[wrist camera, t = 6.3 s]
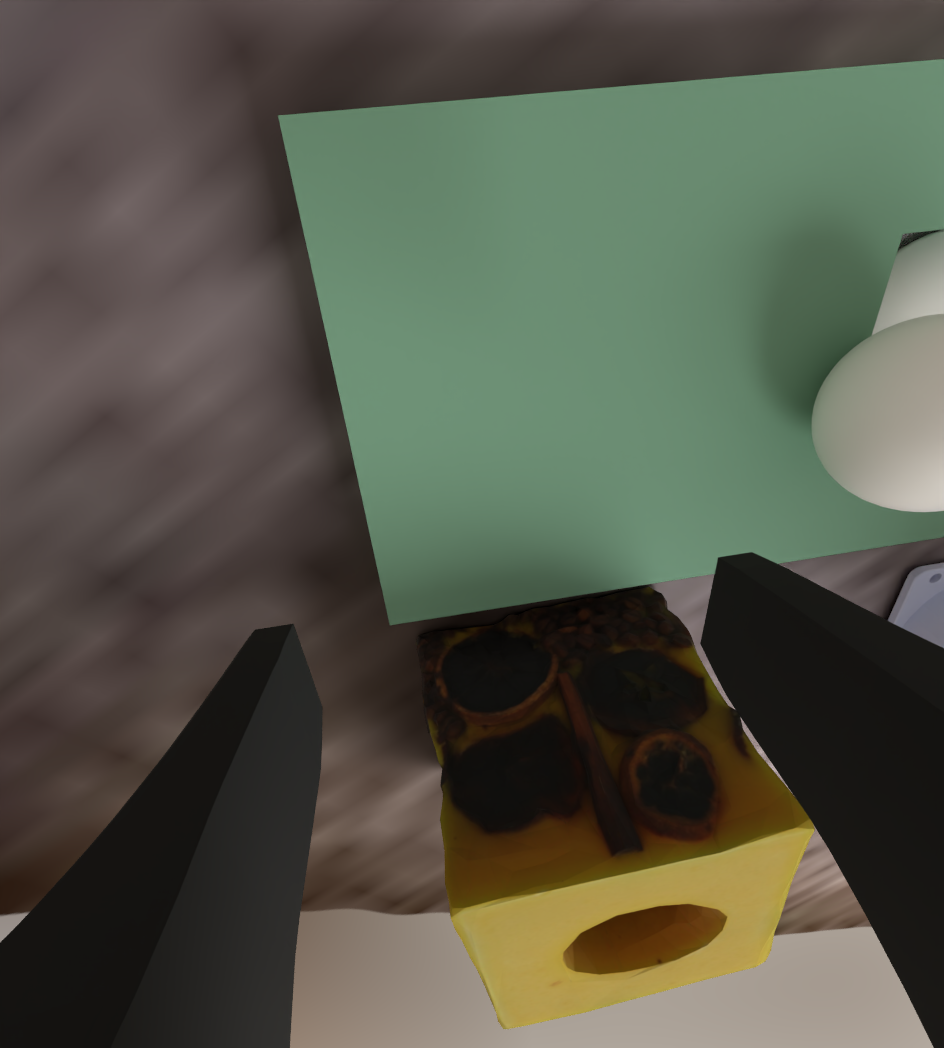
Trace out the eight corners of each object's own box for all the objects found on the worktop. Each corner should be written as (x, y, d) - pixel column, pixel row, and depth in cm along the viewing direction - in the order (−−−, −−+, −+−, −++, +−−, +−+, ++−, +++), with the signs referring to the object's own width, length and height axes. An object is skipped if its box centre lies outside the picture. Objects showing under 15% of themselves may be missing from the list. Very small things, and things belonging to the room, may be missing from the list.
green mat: (1199, 46, 15) (1306, 28, 13) (978, 497, 22) (1027, 524, 20) (291, 124, 13) (278, 115, 11) (389, 588, 20) (389, 625, 19)
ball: (824, 283, 14) (985, 287, 15) (748, 449, 17) (884, 445, 18) (994, 364, 10) (1197, 364, 11) (856, 557, 13) (1022, 546, 14)
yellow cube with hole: (412, 629, 22) (433, 911, 13) (657, 575, 22) (829, 817, 14) (456, 776, 27) (491, 1040, 19) (651, 731, 28) (771, 971, 19)
